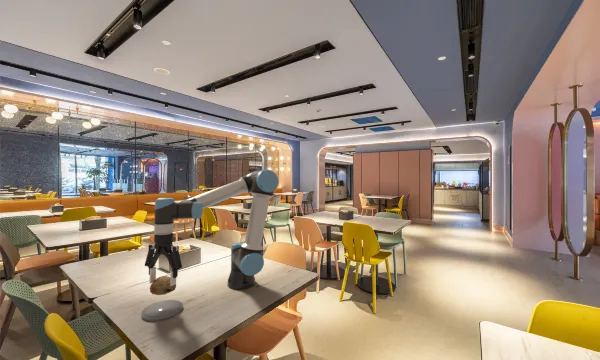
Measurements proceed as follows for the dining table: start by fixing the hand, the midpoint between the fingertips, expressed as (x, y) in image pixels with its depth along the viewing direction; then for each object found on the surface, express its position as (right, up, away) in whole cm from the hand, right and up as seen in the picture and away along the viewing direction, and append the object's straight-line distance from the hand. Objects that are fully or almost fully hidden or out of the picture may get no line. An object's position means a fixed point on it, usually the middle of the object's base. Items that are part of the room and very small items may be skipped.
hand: (162, 283), depth 111 cm
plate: (0, -12, 0) cm, 12 cm away
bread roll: (0, -3, 0) cm, 3 cm away
